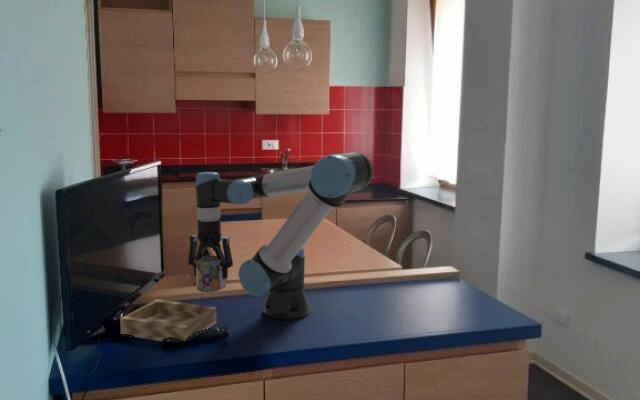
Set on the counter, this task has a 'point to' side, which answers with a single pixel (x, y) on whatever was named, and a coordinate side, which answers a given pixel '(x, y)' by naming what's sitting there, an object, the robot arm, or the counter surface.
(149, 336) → the wooden tray
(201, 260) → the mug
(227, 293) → the counter surface
